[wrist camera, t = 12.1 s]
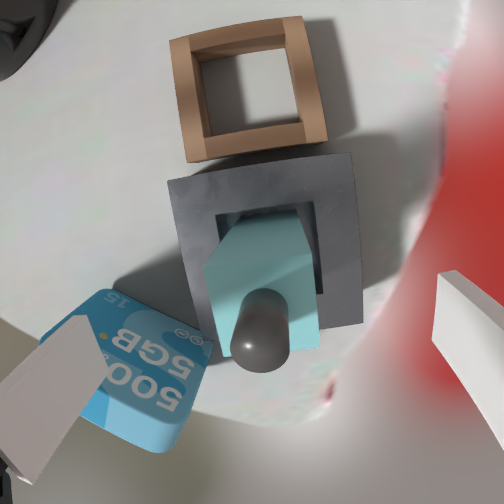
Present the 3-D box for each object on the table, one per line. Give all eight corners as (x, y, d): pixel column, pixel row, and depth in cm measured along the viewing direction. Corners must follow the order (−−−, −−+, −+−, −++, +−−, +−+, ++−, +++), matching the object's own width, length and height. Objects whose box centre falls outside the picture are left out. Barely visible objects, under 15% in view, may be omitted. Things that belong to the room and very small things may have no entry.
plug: (239, 217, 24) (181, 297, 10) (295, 209, 24) (321, 280, 9) (248, 270, 25) (211, 399, 11) (302, 263, 25) (327, 390, 10)
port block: (187, 177, 25) (166, 180, 20) (336, 154, 23) (350, 152, 18) (215, 311, 28) (203, 341, 23) (350, 295, 26) (363, 322, 21)
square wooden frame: (180, 52, 22) (169, 40, 19) (299, 30, 20) (301, 15, 18) (197, 162, 24) (187, 163, 21) (322, 143, 23) (328, 140, 20)
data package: (217, 337, 28) (184, 430, 17) (201, 369, 30) (168, 460, 18) (106, 283, 28) (30, 344, 17) (98, 319, 29) (32, 385, 18)
